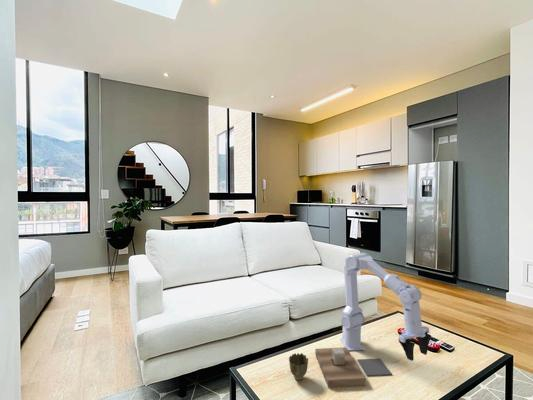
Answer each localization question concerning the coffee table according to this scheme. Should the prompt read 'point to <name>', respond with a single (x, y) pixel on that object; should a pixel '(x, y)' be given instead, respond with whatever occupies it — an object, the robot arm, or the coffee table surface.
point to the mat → (374, 367)
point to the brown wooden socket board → (339, 369)
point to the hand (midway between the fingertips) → (417, 356)
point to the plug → (338, 357)
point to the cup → (298, 365)
